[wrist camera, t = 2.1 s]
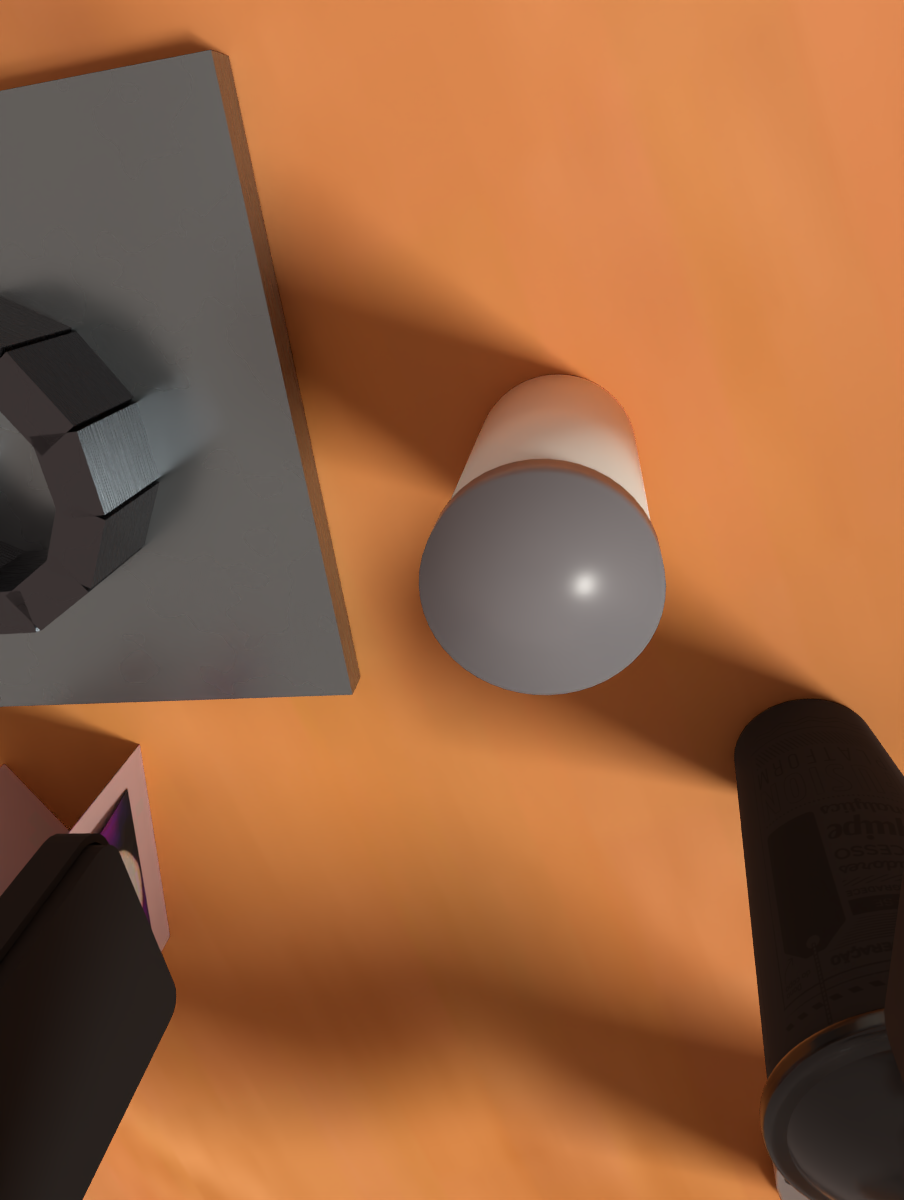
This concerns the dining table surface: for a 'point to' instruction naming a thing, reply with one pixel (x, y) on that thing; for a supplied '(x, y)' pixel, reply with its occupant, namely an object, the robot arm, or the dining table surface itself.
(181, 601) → the square plate with ring
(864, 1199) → the drinking cup
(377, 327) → the dining table surface
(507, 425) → the round-ended cylinder
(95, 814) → the greeting card
